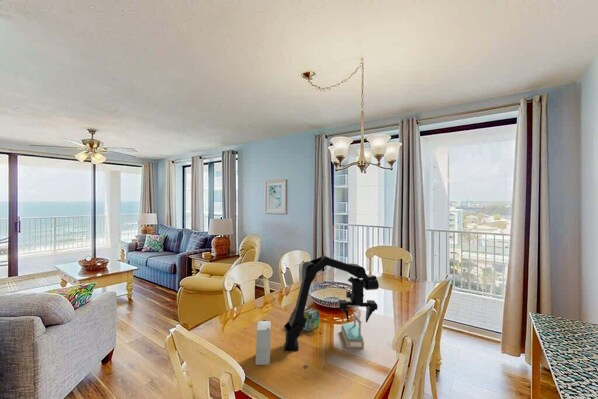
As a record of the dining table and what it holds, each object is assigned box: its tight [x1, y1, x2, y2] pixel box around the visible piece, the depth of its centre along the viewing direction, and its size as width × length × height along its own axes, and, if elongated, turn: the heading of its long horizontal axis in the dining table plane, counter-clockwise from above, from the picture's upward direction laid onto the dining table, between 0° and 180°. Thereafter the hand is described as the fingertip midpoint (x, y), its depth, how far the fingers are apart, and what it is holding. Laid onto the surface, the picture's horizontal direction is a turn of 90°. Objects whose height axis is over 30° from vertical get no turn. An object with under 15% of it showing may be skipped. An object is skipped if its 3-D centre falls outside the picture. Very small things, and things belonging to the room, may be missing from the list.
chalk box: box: [293, 305, 322, 333], centre depth 144 cm, size 9×9×15 cm
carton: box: [340, 325, 365, 349], centre depth 132 cm, size 16×8×3 cm, turn 0°
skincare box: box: [254, 320, 272, 366], centre depth 114 cm, size 8×6×15 cm
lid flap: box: [341, 311, 364, 340], centre depth 132 cm, size 15×7×8 cm, turn 0°
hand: (357, 322), depth 132 cm, fingers open, 9 cm apart
